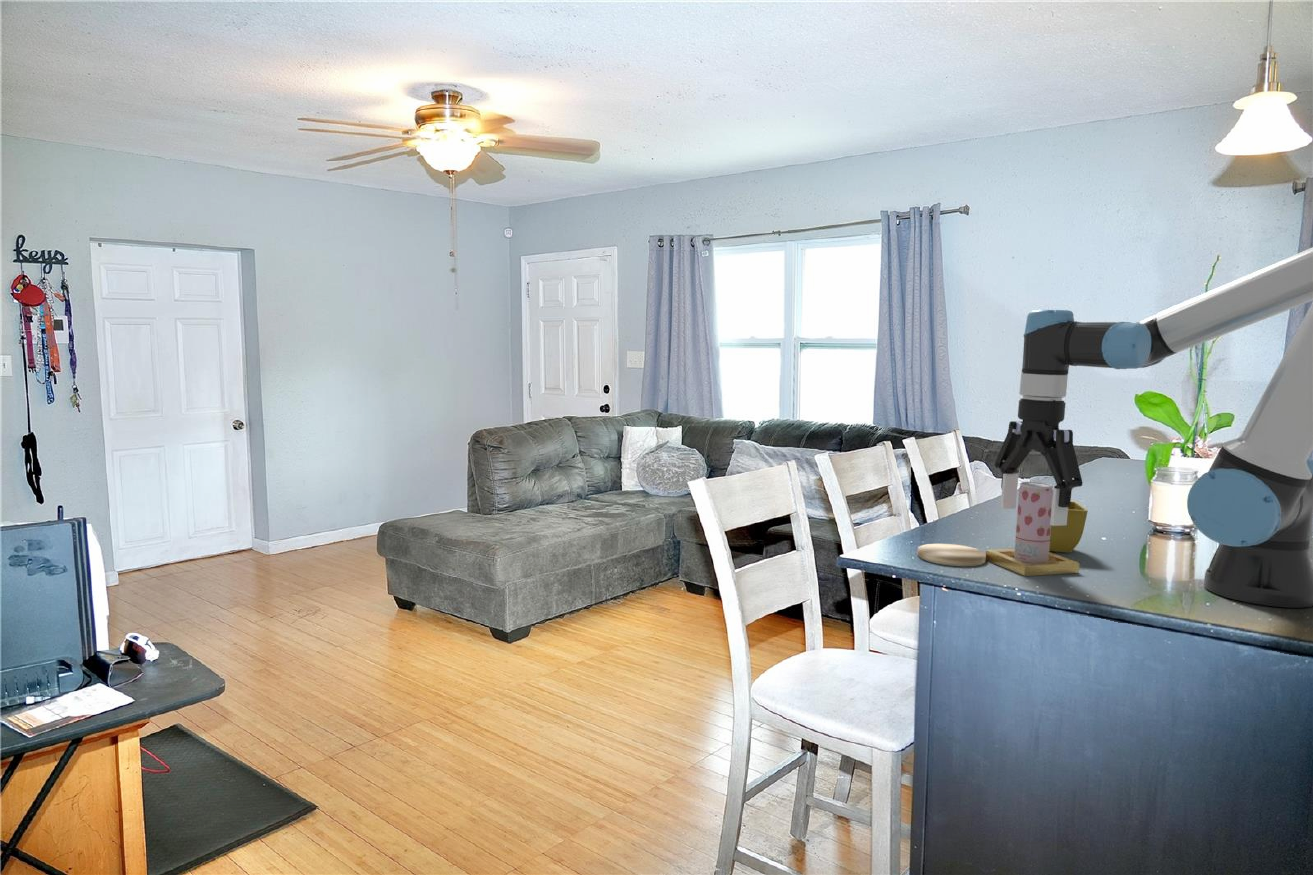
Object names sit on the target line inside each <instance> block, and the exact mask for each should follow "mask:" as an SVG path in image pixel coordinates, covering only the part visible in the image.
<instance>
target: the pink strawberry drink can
mask: <svg viewBox="0 0 1313 875" xmlns="http://www.w3.org/2000/svg"><path fill="white" fill-rule="evenodd" d="M1053 488H1054V487H1053V484H1050V483H1047V482H1040V481H1021V483H1020V486H1019V488H1018V496H1017V497H1018V499H1017V500H1018V501H1017V513H1016V514H1017V516H1016V525H1015V540H1014V543H1015V544H1014V549H1015V553H1014V558H1015V559H1017V560H1020V561H1022V562H1025V563H1040V562H1049V552H1050V551H1049V548H1050V533H1051V525H1050V520H1051V509H1052V498H1053Z"/></svg>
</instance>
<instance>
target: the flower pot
mask: <svg viewBox="0 0 1313 875" xmlns="http://www.w3.org/2000/svg"><path fill="white" fill-rule="evenodd" d="M1087 515H1088V509H1086V508H1085V507H1084V506H1082V505H1081V504H1079V503H1078V502H1077V501H1072V500H1071V501H1070V507H1068V516H1067V525H1062V526H1052V525H1051V533H1050V548H1049V552H1058V553H1072V552H1073V551H1074V549H1075V548H1076V547H1077V546H1078V545H1079V543H1080V541H1081V539H1082V536H1083V533H1084V529H1085V524H1086V520H1087V517H1088V516H1087Z"/></svg>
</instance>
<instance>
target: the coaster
mask: <svg viewBox="0 0 1313 875" xmlns="http://www.w3.org/2000/svg"><path fill="white" fill-rule="evenodd" d="M917 557H918V558H919V559H922V560H923V561H927V562H929V563H934V564H937V565H938V564H939V565H945V566H951V567H976V566H981V565H985V563H986V562H987V560H986V551H983V550H981V549H979V548H975V547H971V546H968V545H963V544H953V543H927V544H922V545H920V546H918V547H917Z"/></svg>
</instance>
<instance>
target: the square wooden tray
mask: <svg viewBox="0 0 1313 875" xmlns="http://www.w3.org/2000/svg"><path fill="white" fill-rule="evenodd" d="M1014 553H1015V548H1001V549H986V550H985V554H986V562H987V561H988V562H989V563H992V564H995V565H997V566H999V567H1002V568H1004V569H1006V570H1009V571H1011V572H1013V573H1016V574H1018V575H1021V576H1023V577H1028V576H1029V577H1032V576H1049V575H1064V574H1065V575H1067V574H1079V572H1080V571H1079V570H1080V562H1078V561H1076V560H1072V559H1070V558H1067V557H1064V556H1061V555H1059V554H1056V553H1054V552H1052V551H1049V562H1040V563H1025V562H1022V561H1020V560H1017V559H1015V558H1014Z"/></svg>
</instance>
